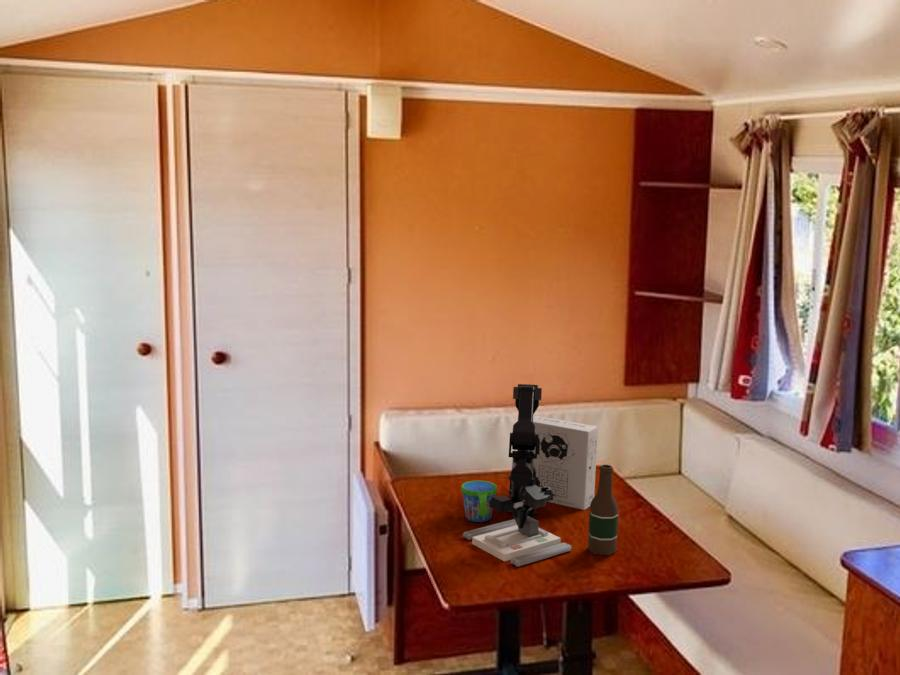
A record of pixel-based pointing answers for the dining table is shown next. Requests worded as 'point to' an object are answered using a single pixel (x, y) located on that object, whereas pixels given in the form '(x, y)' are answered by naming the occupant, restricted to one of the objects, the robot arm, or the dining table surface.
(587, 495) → the cereal box
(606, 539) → the beer bottle
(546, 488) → the robot arm
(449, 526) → the dining table surface
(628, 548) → the dining table surface
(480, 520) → the snack cup
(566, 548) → the grey twin rods
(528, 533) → the switch knob
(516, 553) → the breaker panel
